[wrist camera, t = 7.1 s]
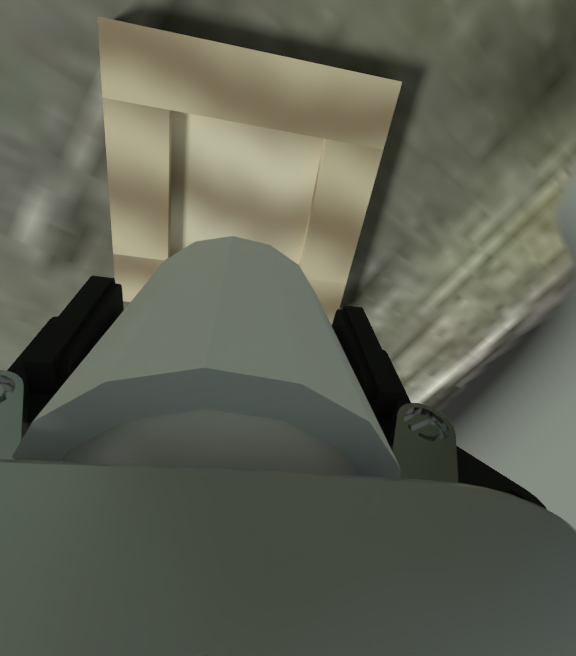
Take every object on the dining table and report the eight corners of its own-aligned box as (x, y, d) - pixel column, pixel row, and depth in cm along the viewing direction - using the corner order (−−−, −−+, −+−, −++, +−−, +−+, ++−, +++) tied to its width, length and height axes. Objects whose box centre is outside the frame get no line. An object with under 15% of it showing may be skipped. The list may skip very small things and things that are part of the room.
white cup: (377, 322, 13) (473, 519, 7) (234, 424, 15) (219, 638, 10) (232, 160, 10) (197, 273, 4) (78, 315, 12) (-85, 532, 6)
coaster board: (109, 21, 21) (97, 16, 19) (391, 81, 23) (402, 81, 22) (124, 287, 29) (116, 300, 28) (330, 311, 32) (334, 324, 30)
